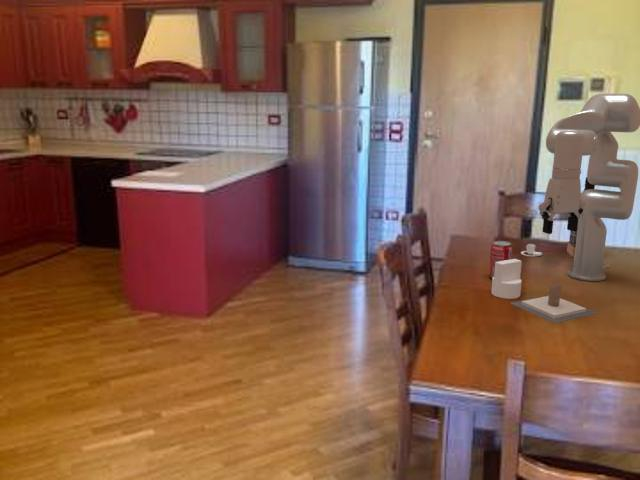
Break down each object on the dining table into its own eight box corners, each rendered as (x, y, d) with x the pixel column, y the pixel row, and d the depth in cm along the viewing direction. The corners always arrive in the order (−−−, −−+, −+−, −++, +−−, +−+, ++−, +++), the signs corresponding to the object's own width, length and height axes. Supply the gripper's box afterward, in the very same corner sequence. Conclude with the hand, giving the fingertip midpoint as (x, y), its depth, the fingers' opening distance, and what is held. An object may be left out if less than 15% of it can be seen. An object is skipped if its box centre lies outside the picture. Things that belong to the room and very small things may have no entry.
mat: (551, 297, 193) (551, 294, 193) (598, 316, 177) (598, 312, 177) (509, 306, 185) (509, 303, 185) (554, 326, 170) (554, 322, 169)
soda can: (510, 281, 209) (514, 246, 205) (489, 280, 210) (492, 245, 207) (508, 275, 215) (511, 241, 212) (488, 274, 217) (490, 240, 213)
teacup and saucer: (544, 258, 240) (545, 248, 239) (524, 257, 240) (525, 248, 239) (537, 252, 248) (538, 242, 247) (518, 252, 248) (518, 242, 247)
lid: (552, 298, 190) (554, 277, 188) (585, 311, 178) (588, 289, 177) (521, 304, 184) (523, 282, 182) (554, 318, 173) (556, 295, 171)
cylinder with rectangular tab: (505, 303, 188) (508, 267, 185) (485, 294, 195) (487, 259, 193) (526, 299, 192) (529, 263, 189) (505, 290, 200) (508, 256, 197)
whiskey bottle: (566, 251, 248) (574, 174, 240) (590, 252, 247) (600, 175, 239) (572, 257, 238) (581, 178, 230) (598, 259, 237) (608, 179, 229)
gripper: (577, 171, 179) (571, 227, 183) (533, 173, 172) (527, 231, 176) (598, 174, 172) (591, 232, 176) (553, 177, 166) (546, 236, 170)
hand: (559, 231), depth 176 cm, fingers open, 9 cm apart
